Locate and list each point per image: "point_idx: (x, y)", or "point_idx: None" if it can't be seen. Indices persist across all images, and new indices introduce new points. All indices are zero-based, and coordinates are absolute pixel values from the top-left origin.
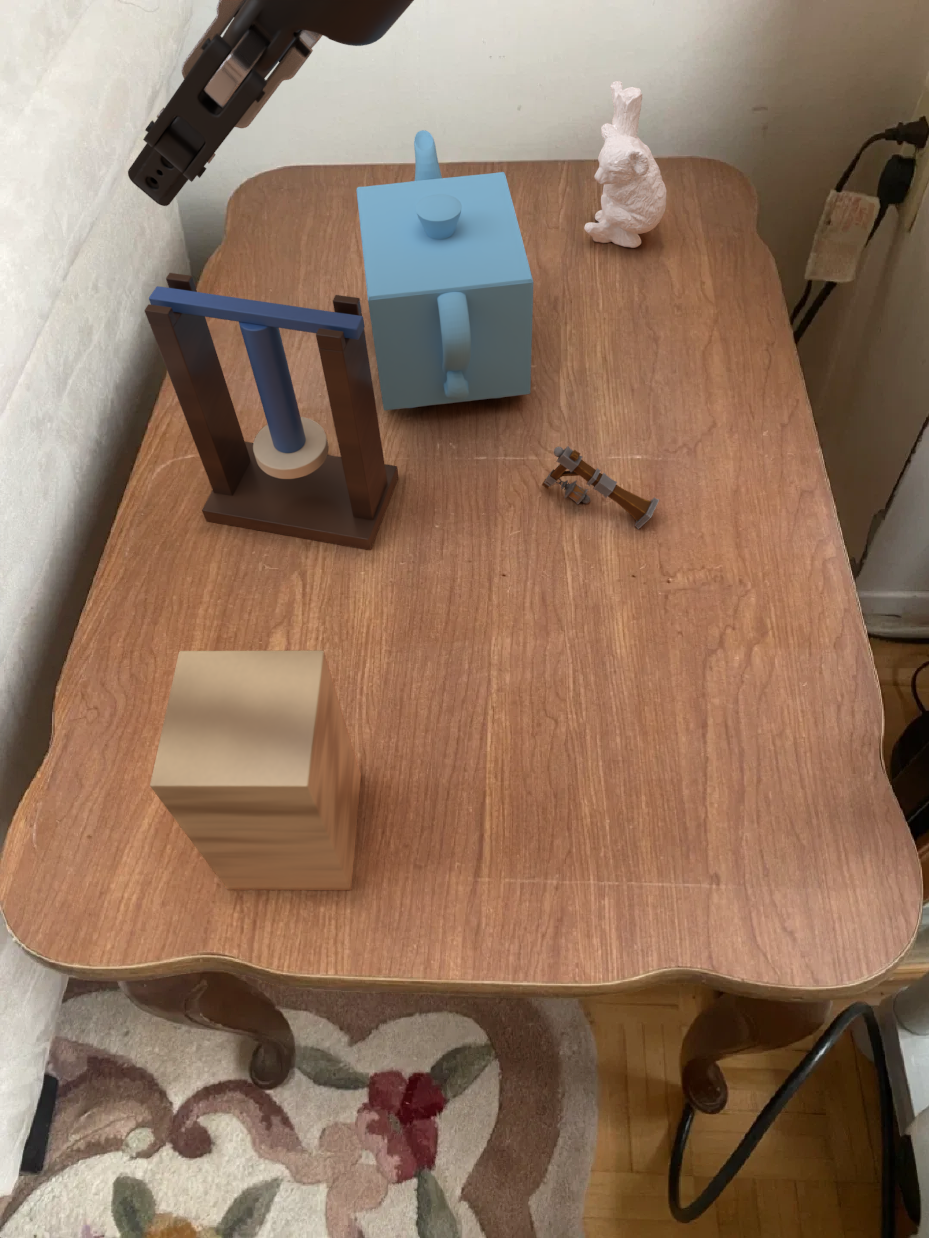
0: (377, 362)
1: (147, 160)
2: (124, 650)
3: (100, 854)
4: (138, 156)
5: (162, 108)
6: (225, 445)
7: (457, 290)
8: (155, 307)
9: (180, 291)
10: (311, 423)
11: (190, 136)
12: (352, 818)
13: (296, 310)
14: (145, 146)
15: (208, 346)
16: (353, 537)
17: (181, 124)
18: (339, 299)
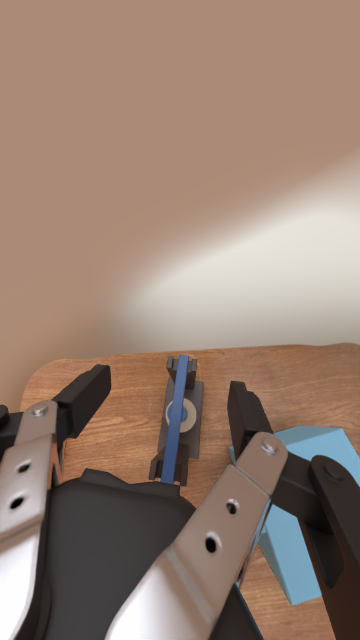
0: (233, 451)
1: (64, 388)
2: (118, 367)
3: (53, 382)
4: (86, 374)
5: (36, 411)
6: None
7: (265, 527)
8: (170, 360)
9: (185, 368)
10: (192, 422)
11: (2, 452)
12: None
13: (174, 440)
14: (78, 382)
15: (190, 378)
16: (158, 444)
17: (9, 440)
18: (183, 470)
